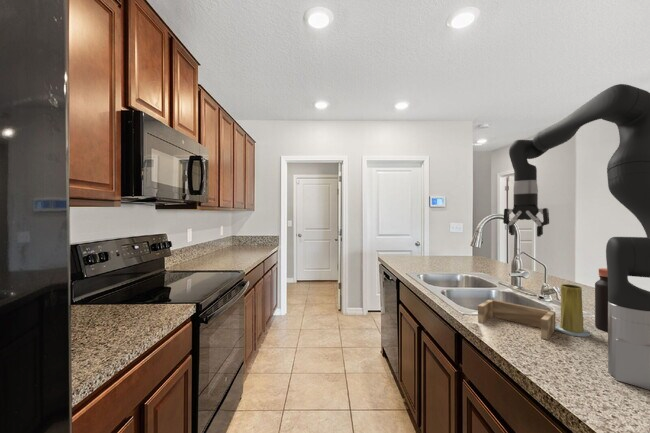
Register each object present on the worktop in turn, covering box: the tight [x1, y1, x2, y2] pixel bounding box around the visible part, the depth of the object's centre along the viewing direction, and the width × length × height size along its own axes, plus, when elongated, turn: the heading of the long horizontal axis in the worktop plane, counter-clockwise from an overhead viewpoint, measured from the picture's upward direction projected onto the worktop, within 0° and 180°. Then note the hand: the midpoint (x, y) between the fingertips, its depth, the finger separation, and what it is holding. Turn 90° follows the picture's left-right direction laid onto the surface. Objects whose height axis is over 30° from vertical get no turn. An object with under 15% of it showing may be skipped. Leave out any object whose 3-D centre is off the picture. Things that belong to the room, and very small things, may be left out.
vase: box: [559, 283, 585, 333], centre depth 96 cm, size 6×6×14 cm
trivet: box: [555, 323, 591, 338], centre depth 96 cm, size 9×9×1 cm
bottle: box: [594, 267, 608, 333], centre depth 97 cm, size 7×7×20 cm
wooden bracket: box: [477, 298, 556, 340], centre depth 101 cm, size 12×20×6 cm, turn 42°
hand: (525, 235), depth 110 cm, fingers open, 8 cm apart
